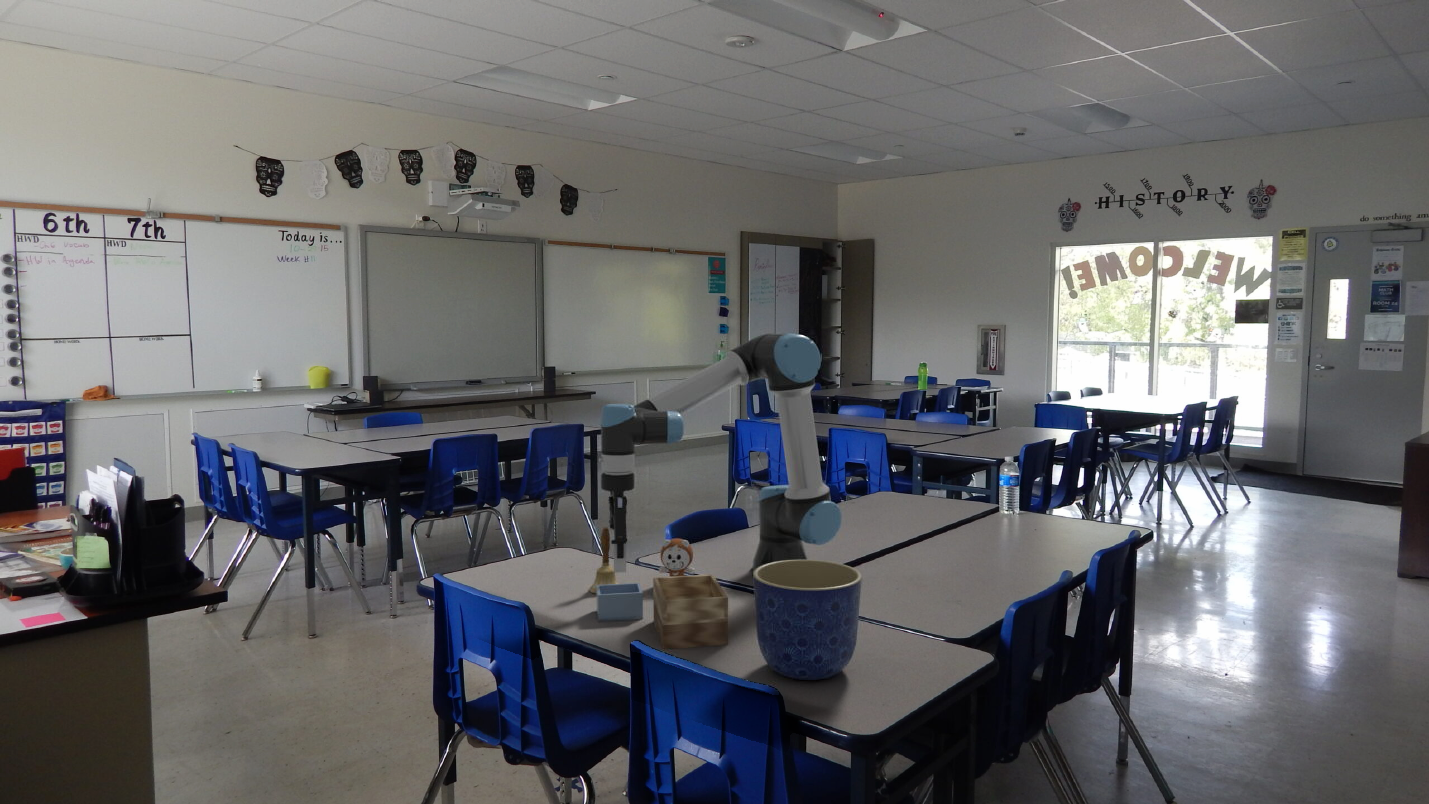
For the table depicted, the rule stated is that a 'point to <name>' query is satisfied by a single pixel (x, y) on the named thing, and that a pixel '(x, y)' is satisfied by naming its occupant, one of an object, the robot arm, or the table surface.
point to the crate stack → (690, 611)
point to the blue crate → (619, 602)
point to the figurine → (676, 557)
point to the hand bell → (604, 564)
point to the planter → (807, 616)
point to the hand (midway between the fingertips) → (617, 564)
